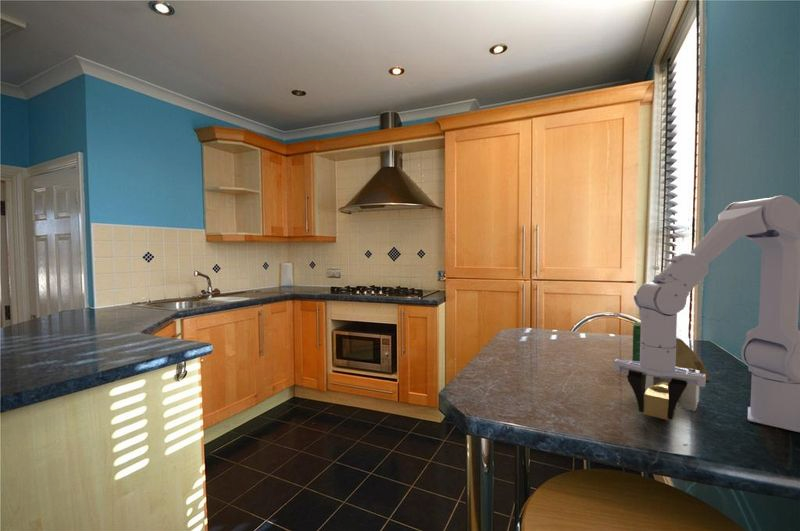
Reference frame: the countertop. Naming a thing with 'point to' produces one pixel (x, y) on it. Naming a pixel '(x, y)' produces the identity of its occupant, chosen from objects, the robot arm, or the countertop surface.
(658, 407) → the gold rounded block
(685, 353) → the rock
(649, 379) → the housing
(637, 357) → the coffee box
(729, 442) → the countertop surface
